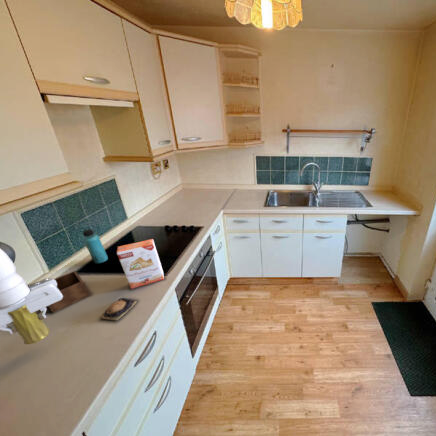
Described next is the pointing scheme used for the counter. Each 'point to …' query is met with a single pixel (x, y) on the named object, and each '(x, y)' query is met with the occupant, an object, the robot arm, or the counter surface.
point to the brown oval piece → (118, 309)
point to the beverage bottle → (95, 247)
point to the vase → (29, 325)
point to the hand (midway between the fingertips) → (29, 324)
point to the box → (69, 290)
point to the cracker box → (140, 263)
